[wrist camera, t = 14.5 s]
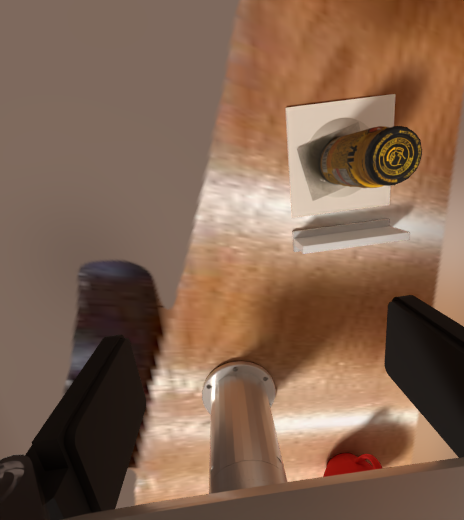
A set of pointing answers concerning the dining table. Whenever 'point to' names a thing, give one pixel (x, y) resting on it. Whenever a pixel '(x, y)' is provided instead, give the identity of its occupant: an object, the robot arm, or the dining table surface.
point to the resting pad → (320, 125)
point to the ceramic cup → (350, 464)
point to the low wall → (346, 236)
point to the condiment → (359, 158)
